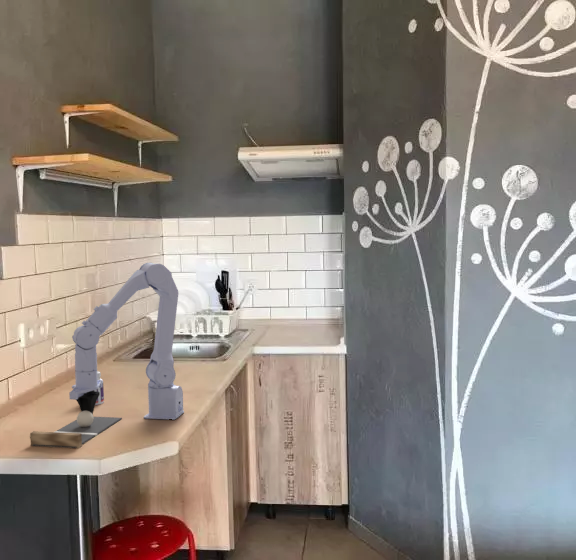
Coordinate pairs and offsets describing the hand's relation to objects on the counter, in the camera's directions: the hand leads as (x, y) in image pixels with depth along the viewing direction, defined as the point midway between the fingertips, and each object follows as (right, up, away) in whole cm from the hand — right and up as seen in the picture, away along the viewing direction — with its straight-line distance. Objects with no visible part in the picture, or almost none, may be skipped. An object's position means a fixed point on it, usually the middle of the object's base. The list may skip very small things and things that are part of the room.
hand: (87, 419), depth 176 cm
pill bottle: (-5, -1, +24) cm, 25 cm away
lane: (0, -2, -5) cm, 5 cm away
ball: (+1, -1, 0) cm, 1 cm away
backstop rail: (-3, -3, -16) cm, 17 cm away
